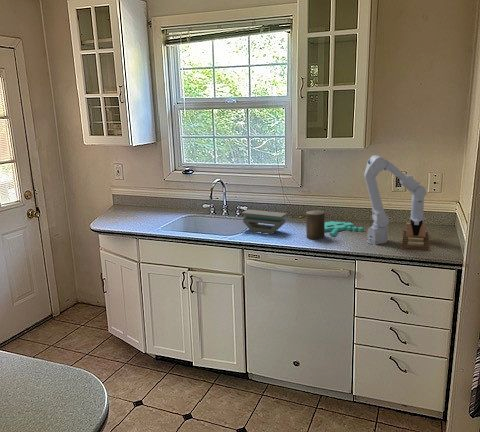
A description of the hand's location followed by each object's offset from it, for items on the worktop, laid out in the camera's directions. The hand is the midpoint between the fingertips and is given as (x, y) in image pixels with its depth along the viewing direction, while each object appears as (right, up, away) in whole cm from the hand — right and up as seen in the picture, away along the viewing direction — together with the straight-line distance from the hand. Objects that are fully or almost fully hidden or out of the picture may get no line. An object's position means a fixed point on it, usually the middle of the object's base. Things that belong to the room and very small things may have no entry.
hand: (415, 234), depth 225 cm
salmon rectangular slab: (0, -2, +1) cm, 3 cm away
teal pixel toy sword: (-34, +1, +27) cm, 43 cm away
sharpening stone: (-75, +1, +29) cm, 80 cm away
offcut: (-2, -4, -5) cm, 7 cm away
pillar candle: (-48, -2, +15) cm, 50 cm away
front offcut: (-5, -6, -11) cm, 13 cm away
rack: (-1, -4, -2) cm, 5 cm away
